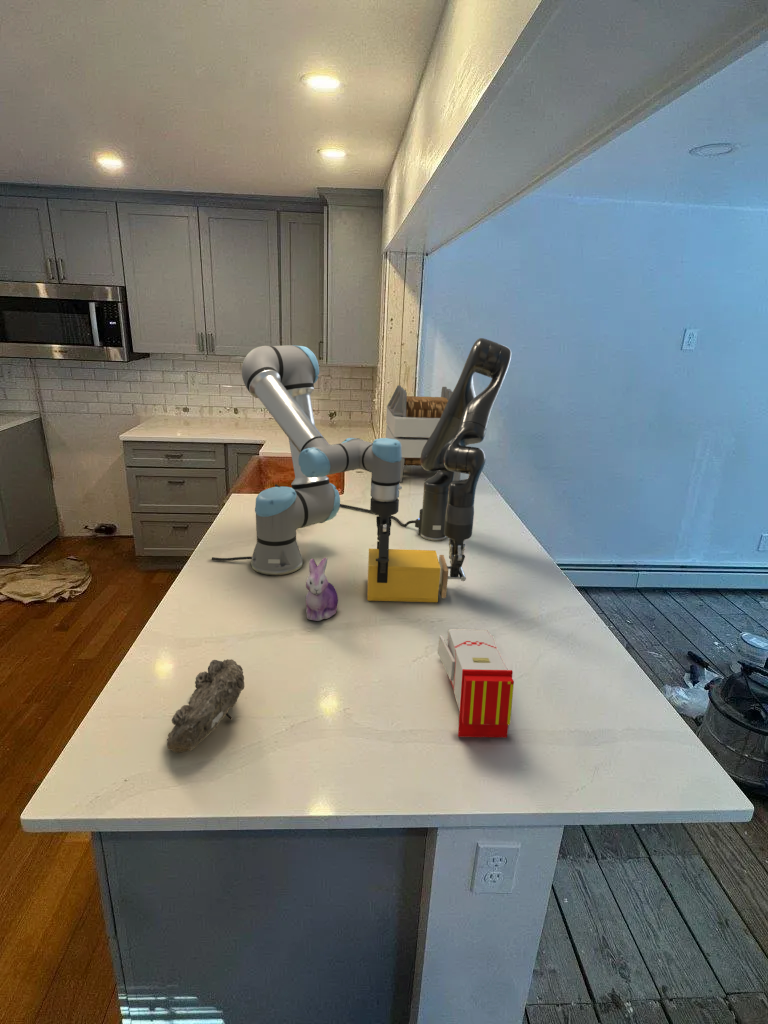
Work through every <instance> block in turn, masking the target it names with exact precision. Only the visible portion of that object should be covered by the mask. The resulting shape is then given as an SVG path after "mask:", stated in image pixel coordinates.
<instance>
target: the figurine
mask: <svg viewBox="0 0 768 1024" xmlns="http://www.w3.org/2000/svg"><path fill="white" fill-rule="evenodd" d="M327 565H328V558H327V557H323V558H322V559H321V561H320V562H319V563H318V565H317V563H316V561H315V559H314V558H310V559H309V561H308V571H309V574H308V576H307V578H306V581H305V588H306V590H307V593H306V595H305V605H306V609H305V613H306V619H308V620H310V621H314V622H316V621H317V622H320V621H322V620H327V619H329V618H332V617H333V616H334V615H336V613H337V611H338V604H339V597H338V592H337V589H336V588H335V586H334V585H333V584H332V583H331V582H329V581H328V578H327V576H326V574H325V571H326V568H327Z"/></svg>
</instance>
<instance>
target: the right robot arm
mask: <svg viewBox="0 0 768 1024" xmlns="http://www.w3.org/2000/svg"><path fill="white" fill-rule="evenodd" d="M468 353H469V354H468V356H467V358H466V361H465V363H464V366H463V368H462V371H461V373H460V376H459V377H458V380H457V383H456V385H455V387H454V388H453V390H452V394H451V396H450V398H449V400H448V402H447V404H446V406H445V408H444V411H443V413H442V415H441V418H440V420H439V422H438V424H437V425H436V427H435V429H434V431H433V433H432V434H431V436H430V437H429V439H428V440H427V442H426V444H425V445H424V447H423V449H422V452H421V457H420V462H421V466H420V467H422V469H423V470H424V471H427V472H435V474H433V475H432V476H430V477H428V478H427V479H425V480H424V482H423V493H422V496H423V497H422V506H421V508H420V509H419V516H418V518H416V519H415V520H407V522H405V523H402V521H401V520H400V519H399V518H397V517H396V516H394V515H390V516H389V517H391V520H394V521H396V522H397V523H398V525H399V526H401V527H404V528H406V527H407V526H409V525H411V524H414V527H415V528H418V530H417V535H418V536H420V538H421V539H424V540H426V541H432V542H440V541H444V540H446V539H447V538H448V550H449V551H448V555H449V556H448V558H449V563H450V566H451V567H450V569H449V576H457V577H460V576H459V567H462V568H463V564H464V562H465V558H466V555H465V554H464V553H465V550H466V543H465V542H464V541H466V540H469V539H471V538H472V536H473V529H474V518H475V498H476V489H477V485H478V482H479V479H480V476H481V474H482V472H483V469H484V467H485V464H486V460H487V459H486V458H487V457H486V454H485V453H486V452H485V451H484V450H483V449H482V448H481V447H475V446H469V445H477V444H479V443H482V442H483V441H484V439H485V437H486V433H487V428H488V424H489V421H490V418H491V414H492V410H493V408H494V406H495V403H496V400H497V398H498V397H499V393H500V390H501V388H502V385H503V383H504V380H505V378H506V375H507V372H508V370H509V367H510V364H511V363H510V362H511V361H512V360H511V359H512V350H511V348H510V347H508V346H506V345H503V344H501V343H498V342H495V341H493V340H490V339H487V338H484V337H479V338H478V339H477V340H475V341H474V343H473V345H472V346H471V348H470V351H469V352H468ZM475 373H476V374H479V375H482V376H484V377H488V378H490V382H489V384H488V385H487V387H485V388H484V390H482V391H481V392H480V393H479V394H476V391H475V385H474V374H475ZM451 440H453V441H452V442H451V443H449V442H450V441H451ZM454 472H458V473H461V474H467V475H468V476H467V477H468V478H465V479H460V480H455V481H453V478H454ZM274 487H281V486H280V485H278V484H274ZM340 507H342V508H345V509H352V510H356V511H362V512H366V513H370V514H373V513H372V512H371V510H370V509H367V508H363V507H359V506H354V505H348V504H342V503H340Z"/></svg>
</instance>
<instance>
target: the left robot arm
mask: <svg viewBox="0 0 768 1024" xmlns="http://www.w3.org/2000/svg"><path fill="white" fill-rule="evenodd" d="M319 375H320V365H319V361H318V358H317V357H316V355H315V353H314V352H313V351H312V350H311V349H310V348H309V347H307V346H304V345H297V344H296V345H295V344H292V345H291V344H289V345H260V346H257V347H254V348H253V349H251V350H250V351H249V352H248V353H247V355H246V356H245V357H244V359H243V362H242V365H241V377H242V381H243V384H244V386H245V388H246V389H247V391H248V392H249V394H250V395H251V396H252V397H253V398H254V399H259V401H260V402H261V403H262V405H263V406H264V407H265V409H266V411H268V413H269V414H270V415H271V417H272V418H273V419H274V421H275V422H276V423H277V425H278V426H279V427H280V429H281V430H282V432H283V433H284V434H285V435H286V437H287V438H288V442H289V443H288V444H289V449H290V455H291V461H292V467H293V472H294V479H293V481H292V482H291V485H290V486H291V487H290V486H286V485H285V486H284V485H282V486H280V487H275V486H273V487H269V488H266V489H264V490H262V491H261V492H259V493H258V495H257V496H256V498H255V508H254V513H255V531H256V533H255V534H256V543H255V546H254V548H253V553H252V555H251V556H237V557H235V556H234V557H211V561H219V562H229V561H243V560H250V561H251V562H250V563H251V564H250V565H251V568H252V570H253V571H254V572H256V573H257V574H261V575H267V576H285V575H289V574H292V573H294V572H297V571H299V570H300V569H301V568H302V566H303V556H302V553H301V550H300V546H299V544H298V541H297V530H298V529H302V528H305V527H310V526H314V525H317V524H324V523H326V522H327V521H331V520H333V519H334V518H335V517H336V516H337V514H338V513H339V510H340V507H341V506H340V504H341V497H340V496H341V495H340V492H339V490H338V489H337V486H336V485H334V484H333V483H331V482H330V478H329V475H334V474H339V473H346V472H350V471H356V470H362V471H366V472H369V473H371V478H370V497H371V498H370V502H369V503H370V507H369V510H371V512H372V513H371V514H374V515H377V516H376V520H375V521H376V528H377V530H376V535H377V537H376V539H377V541H376V549H379V558H378V559H376V561H378V570H377V583H387V577H388V562H389V558H388V557H389V549H390V536H391V527H392V518H391V517H389V516H390V515H391V516H394V515H397V513H398V512H399V506H400V499H399V498H400V491H401V490H402V489H403V487H402V485H400V484H401V482H400V470H401V459H402V455H401V443H400V442H399V441H398V440H396V439H389V438H386V437H380V438H379V437H378V438H376V439H374V440H373V441H372V442H370V441H367V440H364V439H361V438H356V437H348V438H345V439H344V440H343V441H341V443H335V444H334V443H333V444H330V443H329V442H328V441H327V440H326V438H325V437H324V435H322V433H321V432H320V430H319V429H318V428H317V427H316V423H315V418H314V417H315V416H314V411H313V404H312V398H311V395H312V393H313V392H314V390H315V384H316V383H317V381H318V379H319Z"/></svg>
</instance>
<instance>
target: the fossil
mask: <svg viewBox="0 0 768 1024" xmlns="http://www.w3.org/2000/svg"><path fill="white" fill-rule="evenodd" d="M243 670H244V669H243V667H242V665H240V664H237V662H236V661H235V660H234V659H232V658H231V659H227V658H226V659H224V660H223V661H222V660H217V659H212V660H211V661H210V663H209V665H208V666H207V671H201V672H199V673H198V674H197V675H196V676H195V680H194V684H195V685H194V687H195V689H194V690H193V693H192V694H191V697H190V698H189V700H188V704H184V705H182V706H181V707H180V709H177V710H176V711H175V713H174V715H173V716H172V718H171V723H172V724H173V727H172V730H171V731H170V732H168V734H167V738H166V741H167V742H166V745H167V749H168V750H169V751H173V752H174V753H176V754H178V753H182V752H188V751H189V752H192V751H193V750H195V748H196V747H197V746H199V744H200V743H201V742H203V741H204V740H205V739H206V738H207V737H208V736H209V735H210V734H211V733H212V732H214V730H215V729H217V727H218V726H219V724H220V722H221V721H222V720H223V719H224V718H225V716H226V717H227V719H229V720H233V717H232V715H230V714H229V710H230V709H231V708H234V706H235V704H236V703H237V702H238V699H239V697H240V695H241V693H242V691H243V690H245V689H244V688H245V675H244V671H243Z"/></svg>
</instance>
